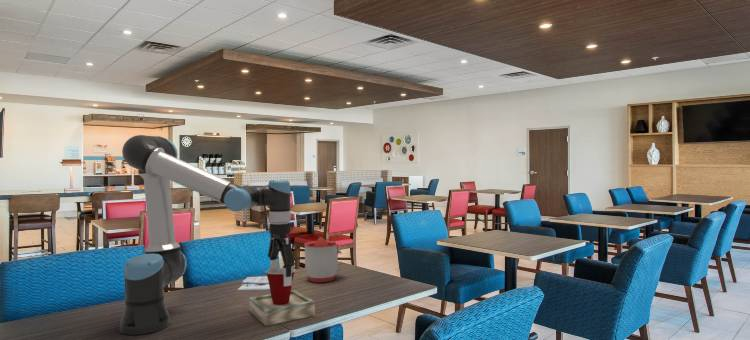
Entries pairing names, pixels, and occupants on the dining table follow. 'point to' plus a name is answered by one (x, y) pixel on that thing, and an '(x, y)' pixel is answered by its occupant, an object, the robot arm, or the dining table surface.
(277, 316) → the stand
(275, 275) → the plastic cup
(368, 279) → the dining table surface
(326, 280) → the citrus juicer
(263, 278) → the white flat piece
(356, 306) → the dining table surface
